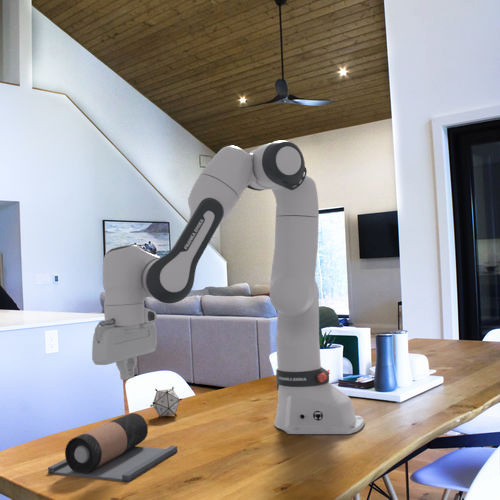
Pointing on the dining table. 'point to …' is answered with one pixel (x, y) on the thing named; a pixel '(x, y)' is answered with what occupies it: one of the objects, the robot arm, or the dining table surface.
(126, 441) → the travel mug
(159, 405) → the game die
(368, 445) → the dining table surface
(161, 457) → the tray
